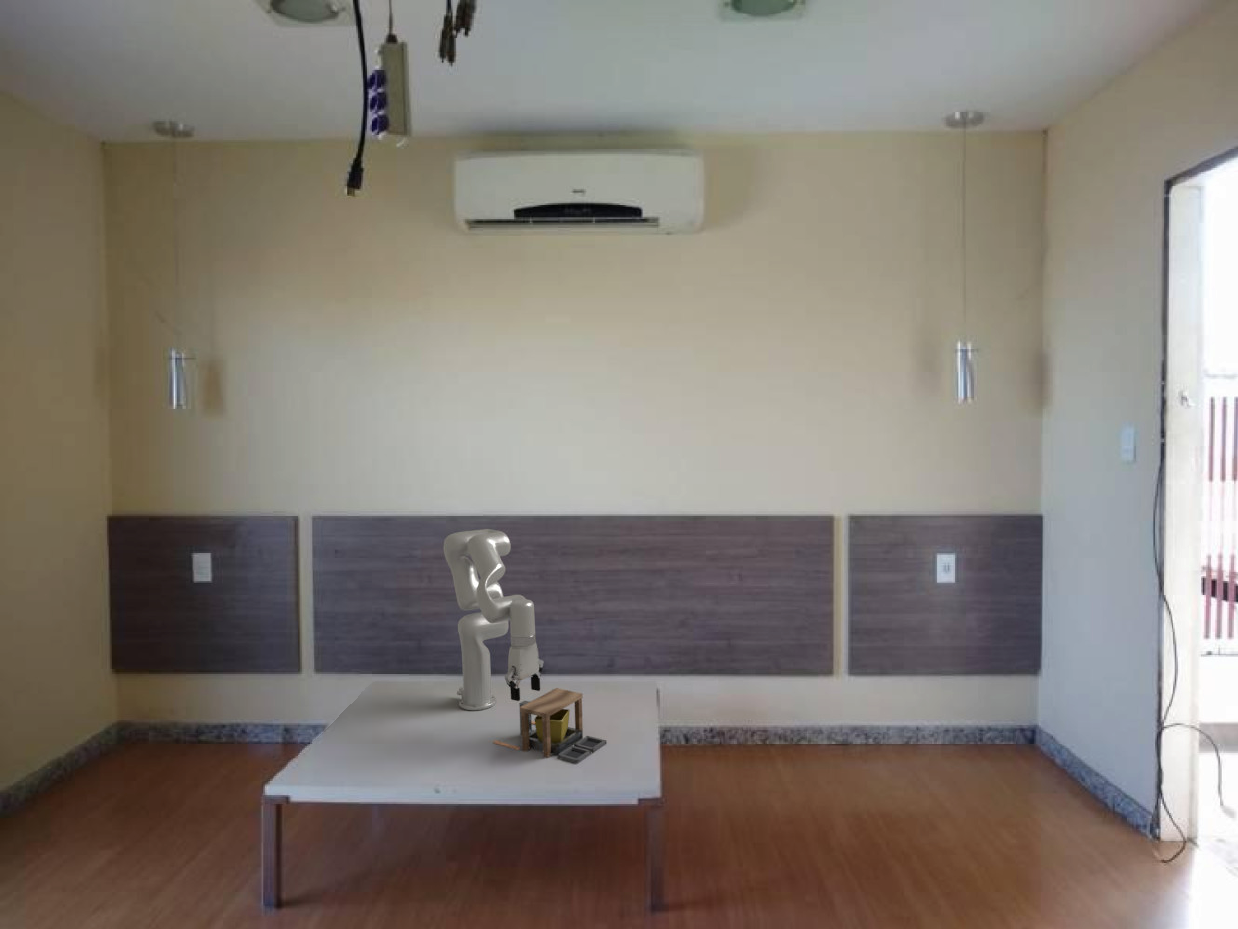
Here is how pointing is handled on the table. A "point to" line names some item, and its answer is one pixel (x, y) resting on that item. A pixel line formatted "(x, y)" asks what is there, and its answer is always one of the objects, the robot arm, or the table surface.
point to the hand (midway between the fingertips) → (525, 695)
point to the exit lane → (509, 744)
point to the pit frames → (582, 749)
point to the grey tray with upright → (535, 743)
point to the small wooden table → (549, 714)
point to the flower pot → (554, 726)
